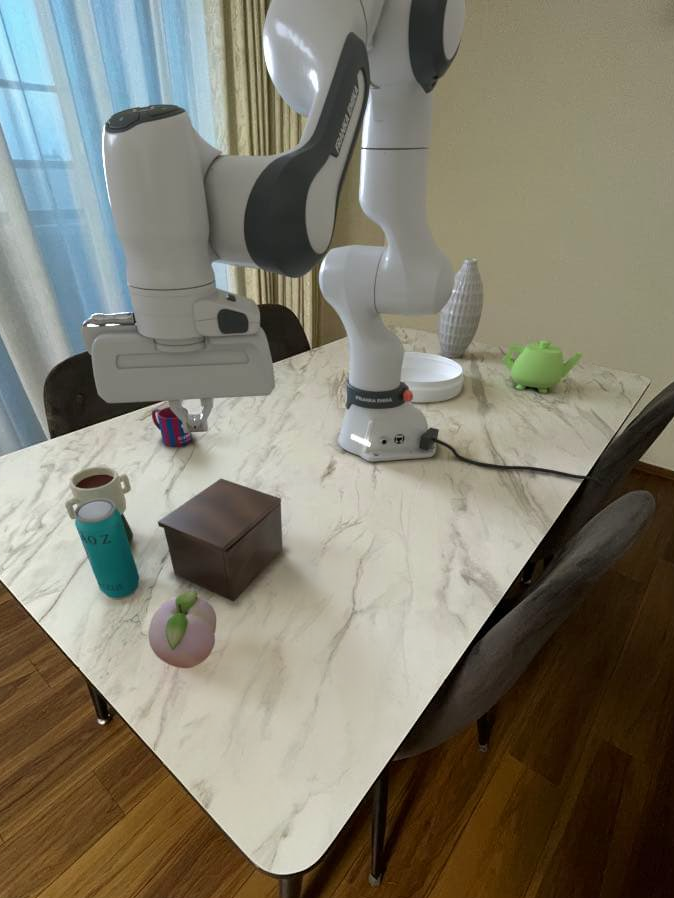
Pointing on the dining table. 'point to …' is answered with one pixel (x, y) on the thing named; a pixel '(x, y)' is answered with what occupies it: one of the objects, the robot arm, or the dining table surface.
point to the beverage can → (107, 547)
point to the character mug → (100, 490)
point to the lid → (220, 514)
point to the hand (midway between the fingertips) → (196, 430)
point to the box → (228, 557)
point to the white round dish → (431, 377)
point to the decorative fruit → (183, 630)
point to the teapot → (538, 365)
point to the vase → (461, 311)
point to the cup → (171, 427)
